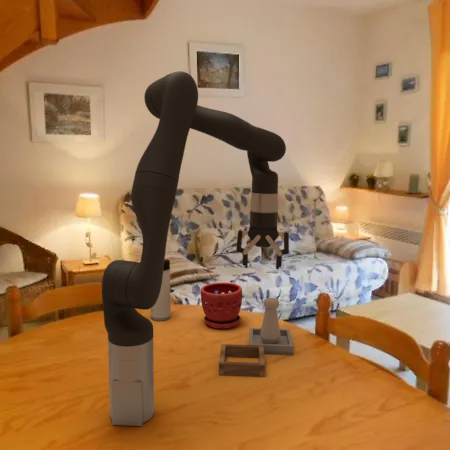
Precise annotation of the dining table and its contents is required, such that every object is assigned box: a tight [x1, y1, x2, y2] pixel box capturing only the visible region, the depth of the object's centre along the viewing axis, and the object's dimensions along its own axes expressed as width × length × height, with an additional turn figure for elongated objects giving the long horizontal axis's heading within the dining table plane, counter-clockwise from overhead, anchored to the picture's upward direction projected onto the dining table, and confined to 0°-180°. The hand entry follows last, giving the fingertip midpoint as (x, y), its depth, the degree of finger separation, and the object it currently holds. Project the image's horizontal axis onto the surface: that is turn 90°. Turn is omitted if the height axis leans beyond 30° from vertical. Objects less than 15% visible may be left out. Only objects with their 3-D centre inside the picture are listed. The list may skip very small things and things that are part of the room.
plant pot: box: [200, 282, 243, 329], centre depth 150 cm, size 13×13×12 cm
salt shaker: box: [260, 297, 281, 344], centre depth 134 cm, size 6×6×13 cm
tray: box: [248, 327, 294, 356], centre depth 136 cm, size 12×12×2 cm
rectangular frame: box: [218, 343, 266, 377], centre depth 123 cm, size 11×11×3 cm
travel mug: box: [150, 258, 171, 322], centre depth 153 cm, size 6×7×20 cm
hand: (261, 268), depth 130 cm, fingers open, 8 cm apart
